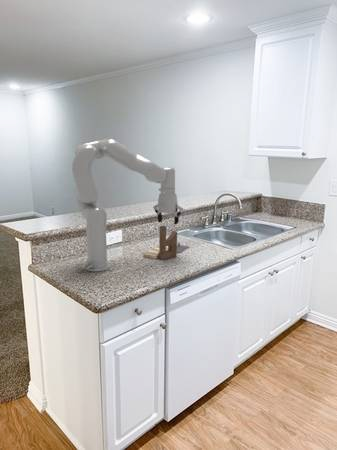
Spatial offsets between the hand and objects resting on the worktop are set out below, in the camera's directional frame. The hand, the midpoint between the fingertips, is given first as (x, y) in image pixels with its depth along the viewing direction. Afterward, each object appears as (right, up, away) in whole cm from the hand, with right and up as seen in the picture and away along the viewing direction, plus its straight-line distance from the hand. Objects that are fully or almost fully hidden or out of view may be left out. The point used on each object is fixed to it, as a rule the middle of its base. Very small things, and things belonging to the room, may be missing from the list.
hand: (168, 222), depth 184 cm
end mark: (+7, -16, +19) cm, 26 cm away
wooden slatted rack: (-3, -16, +15) cm, 23 cm away
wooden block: (0, -19, +4) cm, 20 cm away
